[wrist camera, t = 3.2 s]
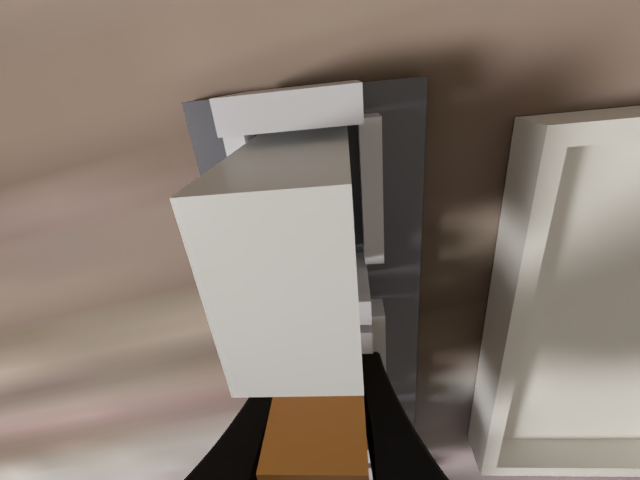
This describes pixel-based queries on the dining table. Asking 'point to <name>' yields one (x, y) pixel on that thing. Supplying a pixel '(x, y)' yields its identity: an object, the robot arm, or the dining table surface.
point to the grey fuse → (279, 264)
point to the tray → (564, 303)
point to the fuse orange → (315, 439)
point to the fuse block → (367, 192)
